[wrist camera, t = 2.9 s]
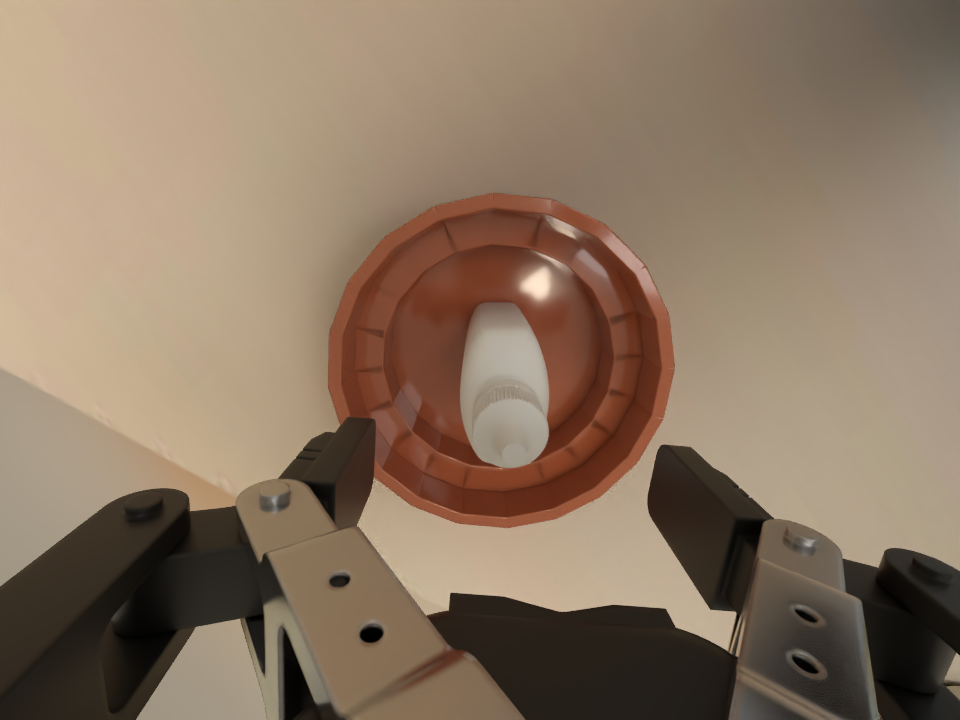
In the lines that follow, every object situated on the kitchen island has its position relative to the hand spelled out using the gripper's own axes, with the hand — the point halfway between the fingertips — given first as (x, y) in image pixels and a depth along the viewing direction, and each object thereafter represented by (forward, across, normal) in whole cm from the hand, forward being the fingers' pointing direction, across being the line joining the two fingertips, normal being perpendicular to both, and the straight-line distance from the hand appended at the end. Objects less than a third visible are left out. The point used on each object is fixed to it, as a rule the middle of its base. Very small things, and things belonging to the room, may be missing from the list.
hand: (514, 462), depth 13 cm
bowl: (+12, 0, 0) cm, 12 cm away
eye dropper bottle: (+12, 0, 0) cm, 12 cm away
